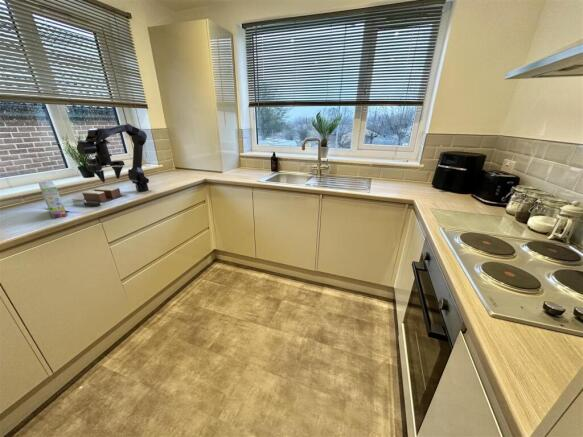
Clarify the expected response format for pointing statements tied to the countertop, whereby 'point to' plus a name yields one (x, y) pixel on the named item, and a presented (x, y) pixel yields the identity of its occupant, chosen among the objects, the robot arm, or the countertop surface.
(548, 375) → the countertop surface
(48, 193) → the snack box
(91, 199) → the cake slice
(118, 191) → the sheet cake
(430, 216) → the countertop surface
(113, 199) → the cake board
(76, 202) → the knife
